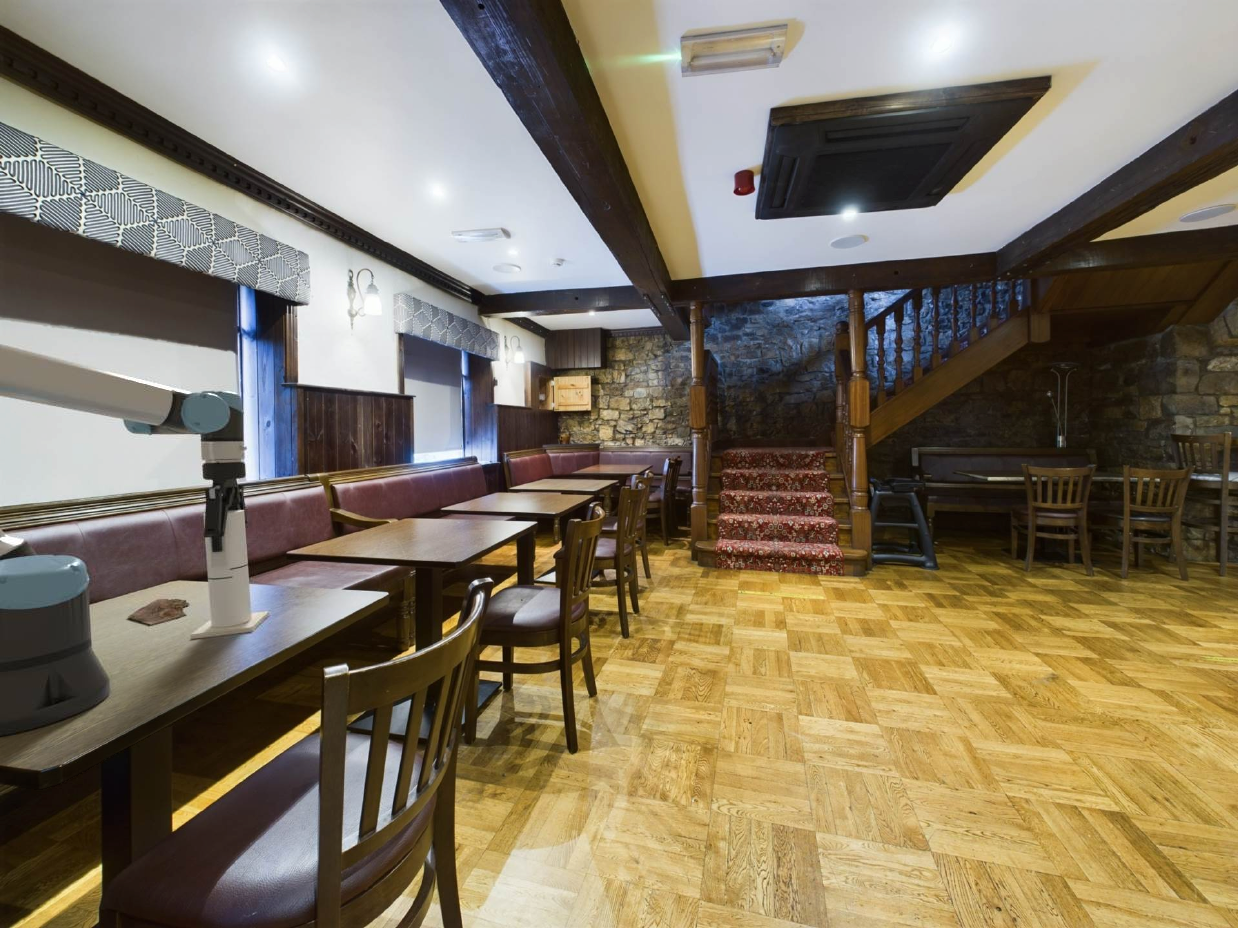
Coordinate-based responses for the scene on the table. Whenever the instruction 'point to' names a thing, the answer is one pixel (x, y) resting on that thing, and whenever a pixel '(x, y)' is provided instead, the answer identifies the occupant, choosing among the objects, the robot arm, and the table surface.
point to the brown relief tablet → (160, 611)
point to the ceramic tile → (231, 627)
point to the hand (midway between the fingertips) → (229, 561)
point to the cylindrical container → (230, 576)
